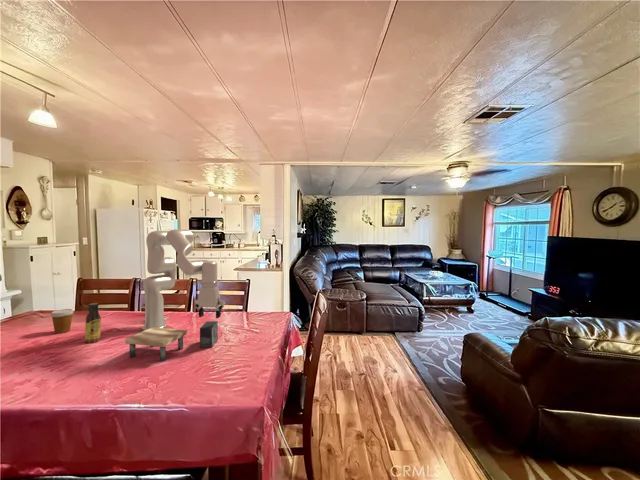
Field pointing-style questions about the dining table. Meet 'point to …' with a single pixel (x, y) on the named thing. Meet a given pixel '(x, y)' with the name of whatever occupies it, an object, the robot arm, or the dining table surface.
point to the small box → (208, 334)
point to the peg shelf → (156, 340)
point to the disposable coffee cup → (62, 320)
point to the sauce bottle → (93, 324)
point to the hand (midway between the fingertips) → (209, 317)
